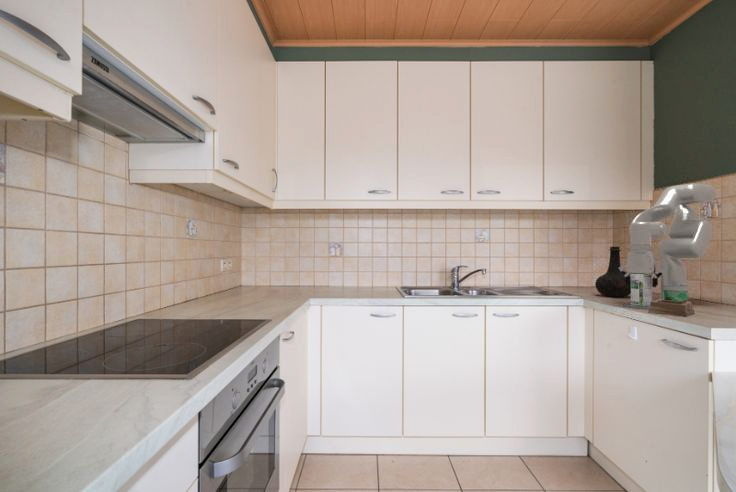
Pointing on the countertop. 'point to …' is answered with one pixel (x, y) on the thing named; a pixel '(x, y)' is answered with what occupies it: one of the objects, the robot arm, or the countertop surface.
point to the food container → (676, 293)
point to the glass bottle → (613, 278)
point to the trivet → (636, 306)
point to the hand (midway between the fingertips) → (641, 286)
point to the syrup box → (641, 289)
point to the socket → (671, 308)
